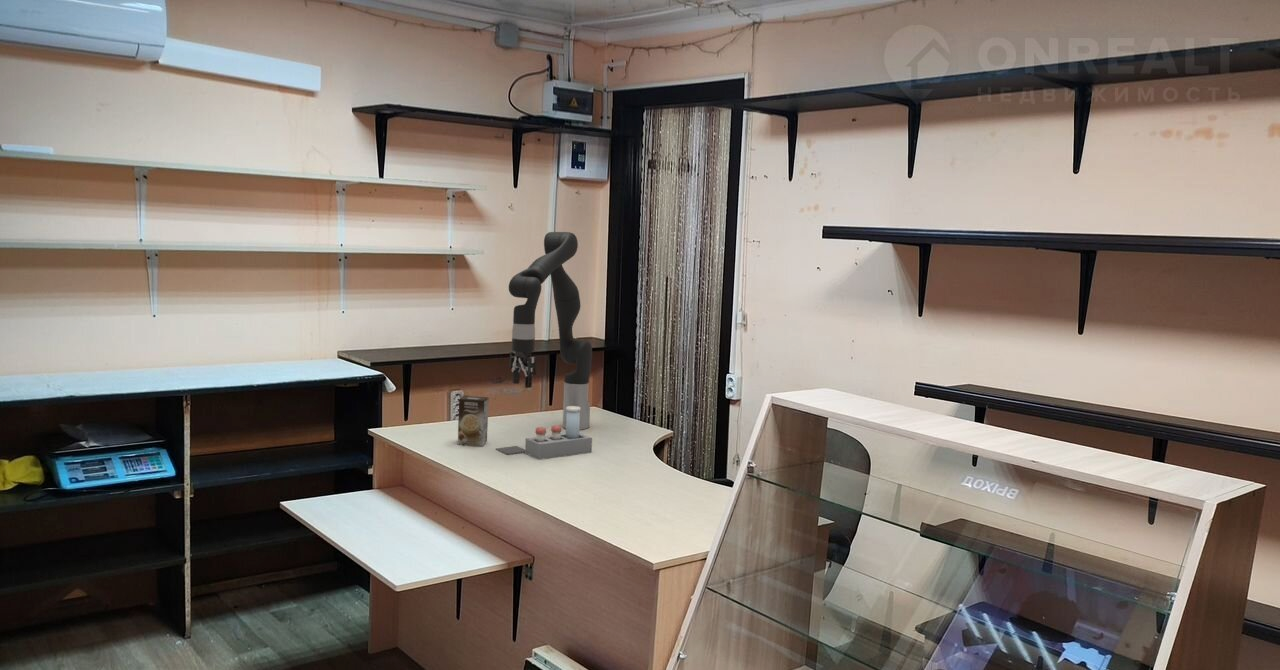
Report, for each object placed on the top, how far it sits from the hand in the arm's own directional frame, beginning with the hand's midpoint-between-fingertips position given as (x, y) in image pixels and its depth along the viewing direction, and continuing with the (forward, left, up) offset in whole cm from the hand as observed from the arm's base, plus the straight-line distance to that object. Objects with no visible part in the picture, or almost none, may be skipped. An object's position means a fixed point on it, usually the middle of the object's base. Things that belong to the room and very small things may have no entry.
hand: (521, 385), depth 307 cm
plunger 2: (-9, +7, -19) cm, 22 cm away
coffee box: (+9, -17, -23) cm, 30 cm away
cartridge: (-16, +7, -22) cm, 29 cm away
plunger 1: (-3, +7, -19) cm, 21 cm away
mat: (+2, -2, -22) cm, 23 cm away
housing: (-11, +7, -22) cm, 26 cm away
